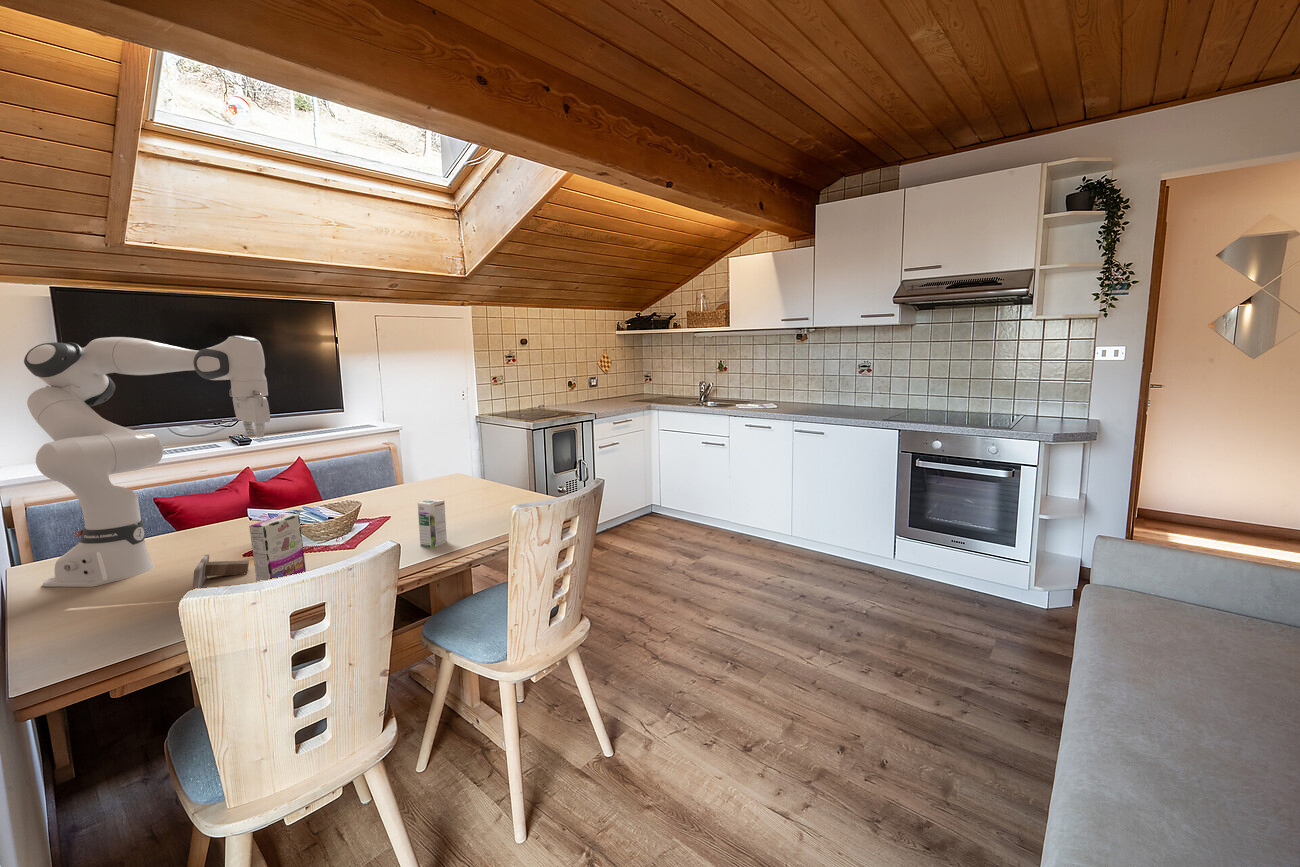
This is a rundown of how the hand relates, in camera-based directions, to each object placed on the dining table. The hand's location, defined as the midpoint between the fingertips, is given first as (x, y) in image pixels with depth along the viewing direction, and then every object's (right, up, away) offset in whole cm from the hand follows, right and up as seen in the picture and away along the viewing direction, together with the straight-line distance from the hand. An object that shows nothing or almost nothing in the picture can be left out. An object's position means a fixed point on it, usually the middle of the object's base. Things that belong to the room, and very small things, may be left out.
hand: (254, 436), depth 170 cm
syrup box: (+53, -34, +3) cm, 63 cm away
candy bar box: (+22, -38, -22) cm, 49 cm away
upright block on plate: (+3, -35, -25) cm, 43 cm away
